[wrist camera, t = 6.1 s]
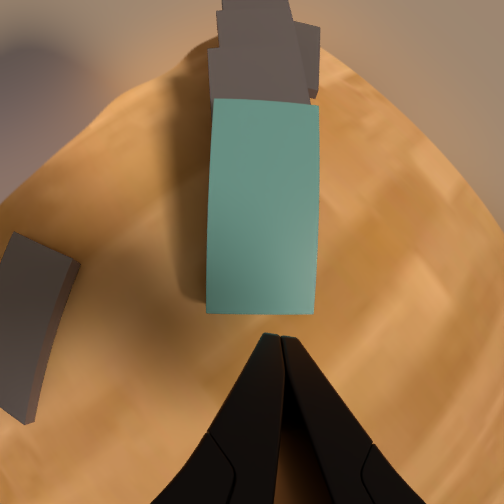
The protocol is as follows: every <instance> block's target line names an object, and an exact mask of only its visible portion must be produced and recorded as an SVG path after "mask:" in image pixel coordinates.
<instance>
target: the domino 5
mask: <svg viewBox="0 0 504 504" xmlns="http://www.w3.org/2000/svg"><path fill="white" fill-rule="evenodd" d="M293 22H294V26H295V30H296V35H297V39H298V43H299V48H300V53H301V57H302V62H303V67H304V72H305V77H306V82H307V87H308V92H309V98H313V99H315V98H316V95H317V93H318V86H319V60H320V27H317V26H313V25H309V24H305V23H300V22H296V21H293Z"/></svg>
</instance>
